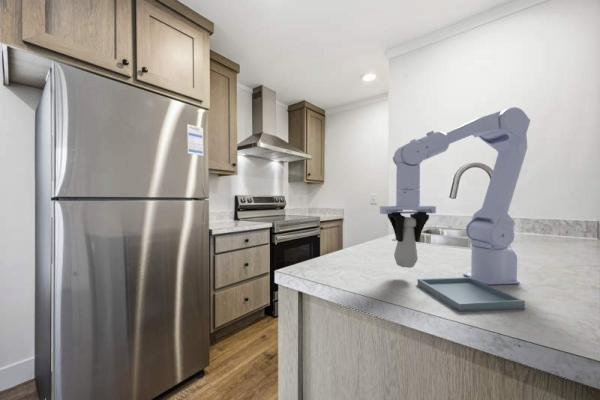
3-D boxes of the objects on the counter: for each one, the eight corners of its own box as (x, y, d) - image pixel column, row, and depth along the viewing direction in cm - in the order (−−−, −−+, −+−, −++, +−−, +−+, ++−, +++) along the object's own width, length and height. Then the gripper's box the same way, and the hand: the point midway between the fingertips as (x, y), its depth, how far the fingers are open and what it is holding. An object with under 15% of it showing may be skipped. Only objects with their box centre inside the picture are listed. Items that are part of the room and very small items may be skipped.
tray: (469, 282, 63) (469, 277, 63) (524, 308, 49) (524, 300, 49) (417, 285, 61) (417, 279, 61) (459, 311, 47) (459, 304, 47)
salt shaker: (418, 270, 62) (421, 219, 62) (394, 267, 64) (396, 217, 63) (415, 263, 68) (417, 216, 67) (393, 260, 70) (395, 215, 69)
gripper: (424, 189, 70) (424, 237, 70) (375, 190, 68) (375, 238, 69) (441, 189, 63) (440, 242, 63) (386, 189, 61) (386, 243, 62)
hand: (407, 240), depth 65 cm, fingers closed on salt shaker, 4 cm apart
